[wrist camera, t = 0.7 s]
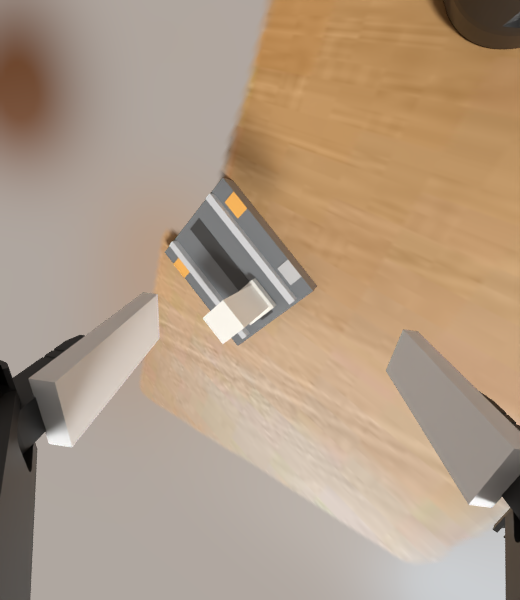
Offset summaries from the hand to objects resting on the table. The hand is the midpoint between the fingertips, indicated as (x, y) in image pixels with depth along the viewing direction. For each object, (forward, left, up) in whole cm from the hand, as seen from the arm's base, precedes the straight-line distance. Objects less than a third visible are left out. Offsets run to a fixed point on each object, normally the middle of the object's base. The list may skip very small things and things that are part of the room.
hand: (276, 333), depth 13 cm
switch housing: (+12, -9, -24) cm, 28 cm away
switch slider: (+12, -3, -21) cm, 24 cm away
